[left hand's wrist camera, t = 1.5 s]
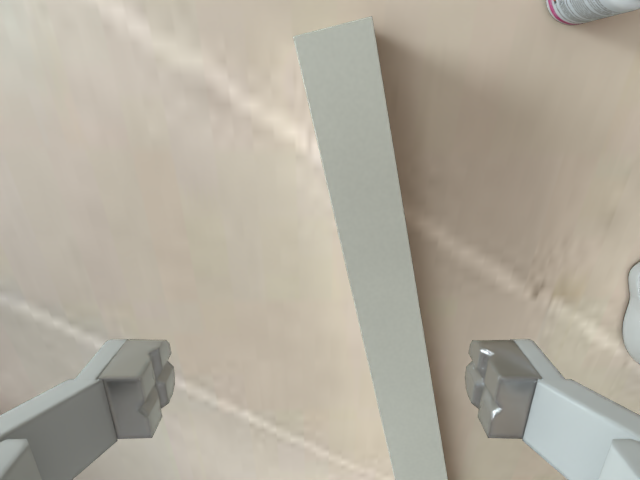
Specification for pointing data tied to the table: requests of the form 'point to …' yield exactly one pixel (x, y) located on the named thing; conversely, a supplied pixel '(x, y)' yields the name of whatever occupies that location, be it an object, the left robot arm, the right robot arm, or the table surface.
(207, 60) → the table surface
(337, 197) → the beam
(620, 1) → the pill bottle
